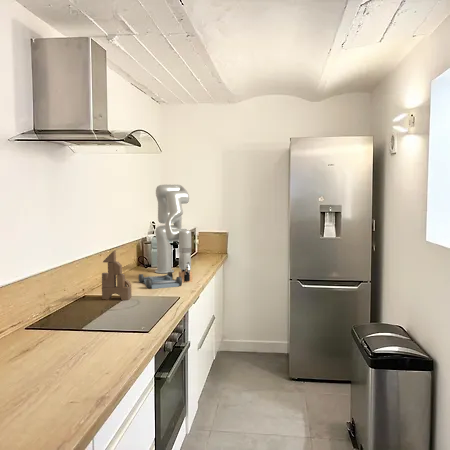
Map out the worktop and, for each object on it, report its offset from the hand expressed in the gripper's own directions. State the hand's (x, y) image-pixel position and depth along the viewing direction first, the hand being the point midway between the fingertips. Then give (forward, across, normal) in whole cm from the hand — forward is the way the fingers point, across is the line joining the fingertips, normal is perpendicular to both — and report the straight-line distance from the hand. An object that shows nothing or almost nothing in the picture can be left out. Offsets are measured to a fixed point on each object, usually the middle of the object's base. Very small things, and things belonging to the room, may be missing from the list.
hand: (185, 280), depth 285 cm
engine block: (+1, 0, 0) cm, 1 cm away
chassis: (+1, 0, -16) cm, 16 cm away
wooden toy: (+1, +27, -47) cm, 54 cm away
